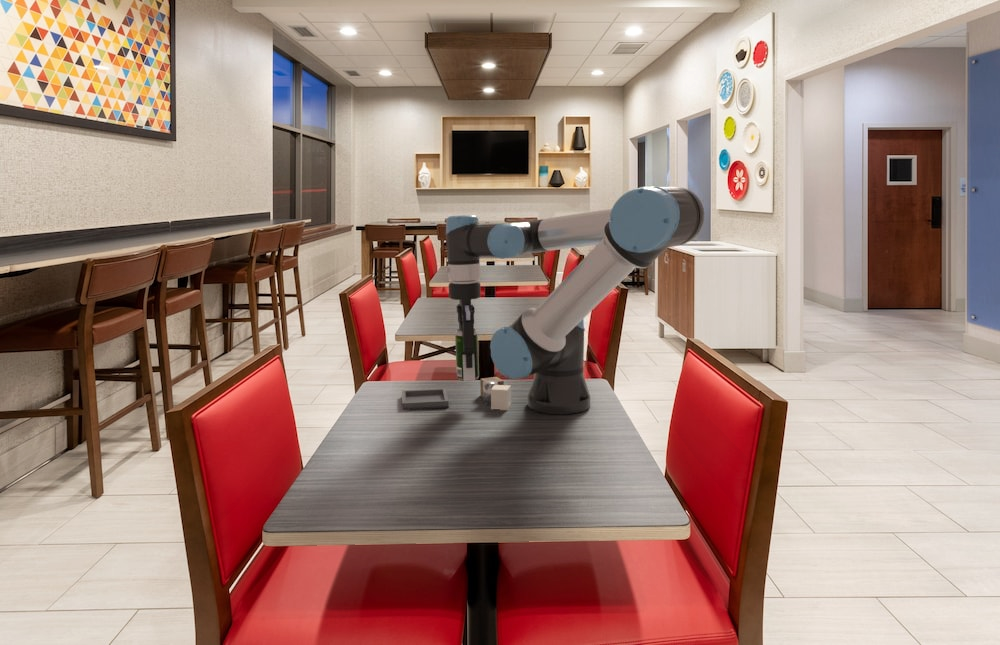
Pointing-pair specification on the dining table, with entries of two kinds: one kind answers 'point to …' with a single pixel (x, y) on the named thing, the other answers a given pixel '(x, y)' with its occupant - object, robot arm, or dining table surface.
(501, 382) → the walnut block
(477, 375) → the green soda can
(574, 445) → the dining table surface
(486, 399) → the grey metal cylinder
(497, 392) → the cream block
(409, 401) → the tray
